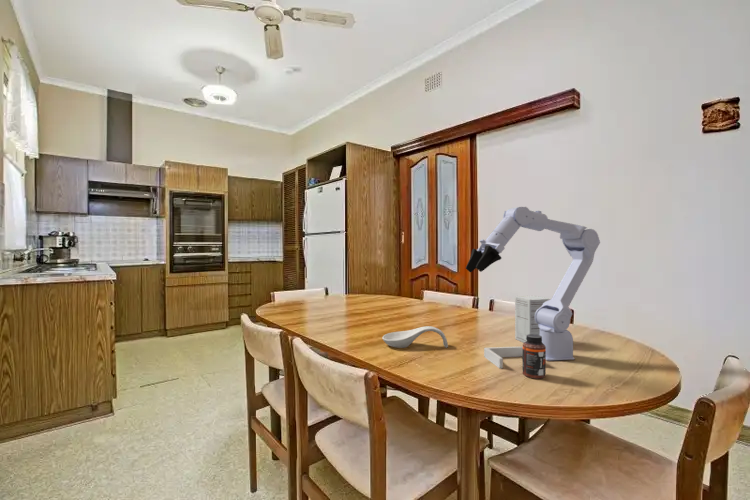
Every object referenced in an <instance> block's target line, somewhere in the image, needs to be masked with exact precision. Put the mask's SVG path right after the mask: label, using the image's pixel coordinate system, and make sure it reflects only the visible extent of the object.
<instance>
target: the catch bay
mask: <svg viewBox="0 0 750 500" xmlns="http://www.w3.org/2000/svg"><path fill="white" fill-rule="evenodd" d="M483 350H484V351H483V358H485V359H486V360H488V362H490V363H491V364H493V365H494V366H496V367H497V368H498V369H503V368H504V358H513V357H514V358H515V357H516V358H517V357H523V345H522V346H501V347H500V346H498V347H497V346H496V347H484V348H483Z"/></svg>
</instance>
